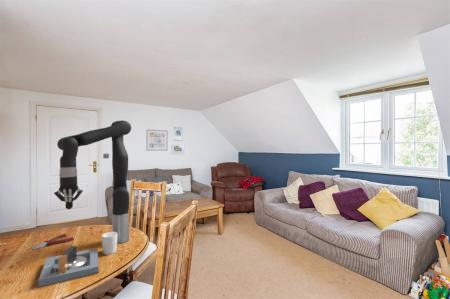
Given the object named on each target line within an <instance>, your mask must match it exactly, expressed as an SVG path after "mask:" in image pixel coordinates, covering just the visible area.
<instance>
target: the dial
mask: <svg viewBox="0 0 450 299" xmlns="http://www.w3.org/2000/svg"><path fill="white" fill-rule="evenodd" d="M77 250H78V249H77V245H71V246H69V248H67V249H66V251H64V252H63V253H62V254H60V255H61V256H60V255H59V256H60V257H59V258H58V264H57V272H58V273H65V272H66V271H67V270H70V269H75V268H79V267H84V266H86V257H83V256H77V252H78V251H77Z"/></svg>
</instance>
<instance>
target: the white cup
mask: <svg viewBox="0 0 450 299" xmlns="http://www.w3.org/2000/svg"><path fill="white" fill-rule="evenodd" d="M117 235H118V233H117V232H112V231H108V232H104V233H103V234H102V235H101V244H102V246H101V247H102V254H103V255H106V256H108V255H113V254H115V253H116V252H117V247H118V243H117Z"/></svg>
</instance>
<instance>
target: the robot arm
mask: <svg viewBox="0 0 450 299" xmlns="http://www.w3.org/2000/svg"><path fill="white" fill-rule="evenodd" d="M131 131H132V124H130V122H129V121H127V120H116V121H113V122H112V123H111V124H110V126H107V127H106V126H105V127H102V128H97V129H93V130H88V131H84V132H81V133H79V134H74V135H69V136H65V137H61V138H60V139H59V140H58V141H57V144H56V145H57V147H58V149H59V150H61V151H62V155H61V156H60V158H59V174H58V175H59V187H58V190H57V191H55V192H54V193H53V194H54V195H55V196H56V198H58V199H59V200H60V201H61V202H65V209H66V210H71V209H72V208H73V207H74V202H75V201H76V200H77V199H78V198H80V196H81V194H83V192H84V190H83V189H80V188H79V186H78V168H77V155H78V152H79V147H85V146H88V145H92V144H95V143H98V142H101V141H103V140H106V139H111V147H112V148H111V151H112V154H111V156H112V157H111V158H112V160H111V163H112V167H111V168H112V175H113V176H112V177H113V187H112V188H113V189H112V212H111V213H112V215H111V216H112V218H111V219H112V222H111V223H112V227H111V228H112V230H111V232H117V233H118V235H117V244H123V243H126V242H129V241H130V225H129V220H130V219H129V217H130V216H129V210H130V193H129V190H128V186H127V185H128V184H127V183H128V182H127V177H128V171H129V170H128V169H129V154H128V151H127V149H126V147H125V143H124V136H126V135H128V134H130V133H131Z"/></svg>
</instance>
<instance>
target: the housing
mask: <svg viewBox="0 0 450 299" xmlns="http://www.w3.org/2000/svg"><path fill="white" fill-rule="evenodd" d="M98 253H99V252H98V248H93V249H87V250H81V251H77V256H83V257H86V266H84V267H79V268H75V269H70V270H67V271H66V272H65V273H58V272H57V264H58V258H59V257H60V256H61V255H62V254H60V255H56V256H50V257H46V259H45V263H44V265H43V267H42V270H41V273H40V275H39V278H38V283H37V284H38V285H37V286H38V288H42V287H46V286H50V285H54V284H55V285H56V284H59V283H62V282H67V281H70V280H74V279H79V278H80V279H81V278H82V277H83V278H84V277H87V276H88V277H89V276H92V275H95V274H99V272H100V270H99V268H100V267H99V254H98Z"/></svg>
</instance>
